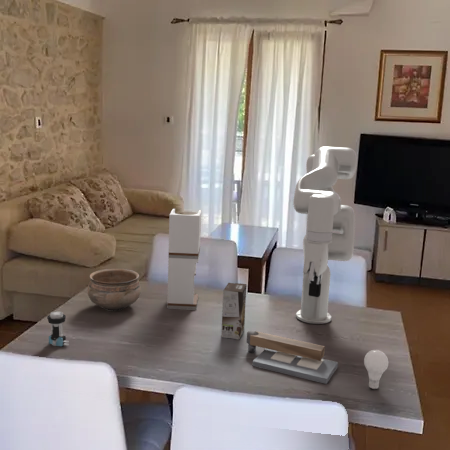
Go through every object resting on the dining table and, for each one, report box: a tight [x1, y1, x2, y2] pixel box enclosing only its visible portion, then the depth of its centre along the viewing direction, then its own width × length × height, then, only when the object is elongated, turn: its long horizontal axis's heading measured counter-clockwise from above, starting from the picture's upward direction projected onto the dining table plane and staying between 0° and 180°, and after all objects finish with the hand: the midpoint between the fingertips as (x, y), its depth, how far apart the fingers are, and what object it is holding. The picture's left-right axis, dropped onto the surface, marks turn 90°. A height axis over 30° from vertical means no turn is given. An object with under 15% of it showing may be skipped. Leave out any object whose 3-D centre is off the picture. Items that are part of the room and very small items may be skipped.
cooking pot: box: [87, 268, 142, 312], centre depth 207 cm, size 25×19×12 cm
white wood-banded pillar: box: [166, 208, 202, 311], centre depth 212 cm, size 11×11×35 cm
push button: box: [46, 310, 70, 347], centre depth 175 cm, size 7×5×10 cm
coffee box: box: [220, 282, 247, 340], centre depth 188 cm, size 9×6×16 cm
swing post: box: [247, 343, 257, 354], centre depth 176 cm, size 2×2×3 cm
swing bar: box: [246, 330, 326, 361], centre depth 172 cm, size 4×24×3 cm, turn 65°
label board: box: [252, 348, 339, 385], centre depth 168 cm, size 12×22×2 cm, turn 65°
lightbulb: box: [363, 349, 389, 390], centre depth 155 cm, size 6×6×11 cm
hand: (314, 295), depth 173 cm, fingers closed
